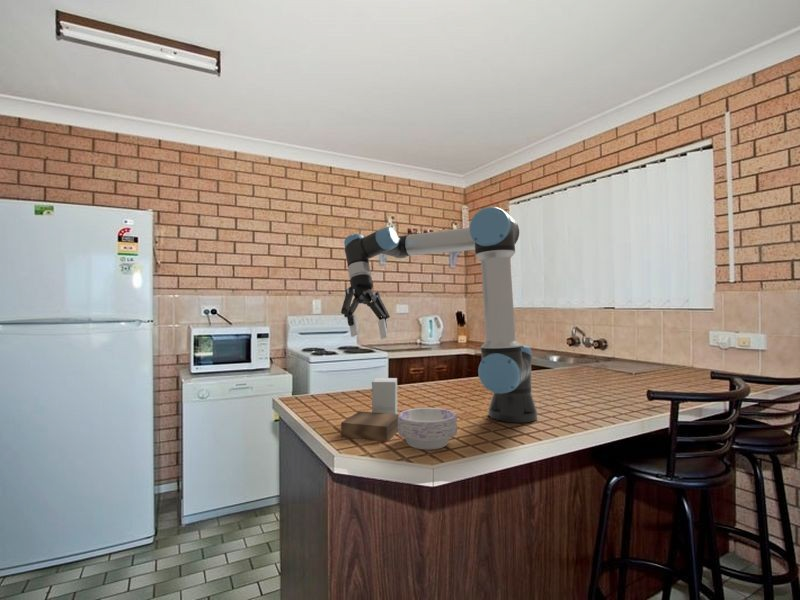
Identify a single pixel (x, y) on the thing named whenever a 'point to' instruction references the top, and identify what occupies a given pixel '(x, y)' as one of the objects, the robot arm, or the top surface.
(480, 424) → the top surface
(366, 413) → the block
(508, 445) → the top surface
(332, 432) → the top surface
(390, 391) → the supplement box
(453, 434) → the paper bowls
